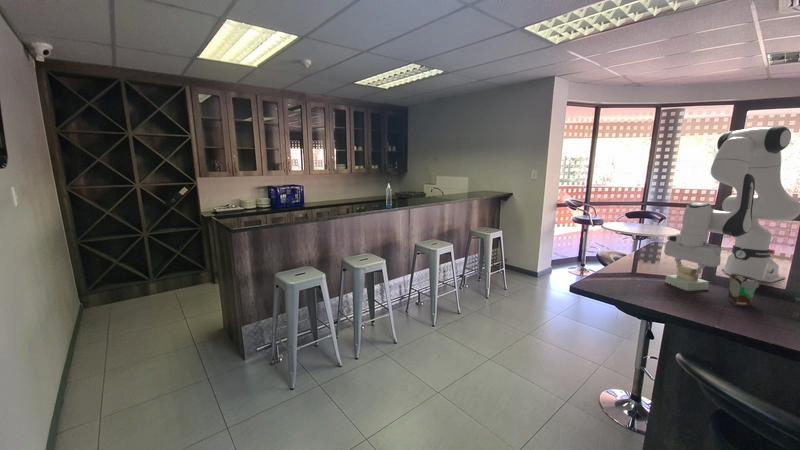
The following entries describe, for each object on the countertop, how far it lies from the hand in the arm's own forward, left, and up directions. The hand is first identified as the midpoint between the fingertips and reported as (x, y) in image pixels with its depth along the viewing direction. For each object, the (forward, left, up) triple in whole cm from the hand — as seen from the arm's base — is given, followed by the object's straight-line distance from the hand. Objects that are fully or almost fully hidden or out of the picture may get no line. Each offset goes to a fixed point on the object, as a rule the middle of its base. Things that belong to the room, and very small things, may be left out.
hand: (688, 270), depth 139 cm
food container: (-2, +19, -7) cm, 20 cm away
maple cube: (0, 0, -4) cm, 4 cm away
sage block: (0, 0, -8) cm, 8 cm away
